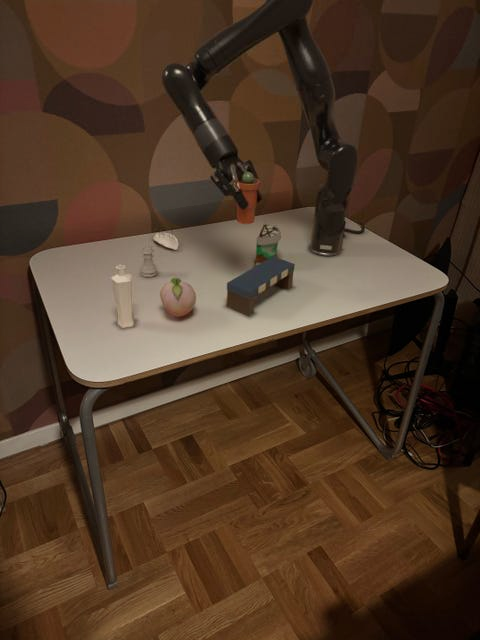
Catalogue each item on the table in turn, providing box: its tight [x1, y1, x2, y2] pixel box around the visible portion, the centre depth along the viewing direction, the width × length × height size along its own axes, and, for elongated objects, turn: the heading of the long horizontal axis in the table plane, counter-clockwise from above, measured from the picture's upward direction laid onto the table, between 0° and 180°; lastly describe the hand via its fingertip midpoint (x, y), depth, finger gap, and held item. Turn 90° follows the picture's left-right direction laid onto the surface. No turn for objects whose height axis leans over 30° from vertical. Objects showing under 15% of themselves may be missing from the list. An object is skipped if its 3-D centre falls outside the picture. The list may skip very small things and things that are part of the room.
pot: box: [235, 172, 261, 225], centre depth 121 cm, size 6×6×12 cm
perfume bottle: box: [110, 264, 135, 329], centre depth 115 cm, size 5×4×15 cm
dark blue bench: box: [226, 256, 296, 317], centre depth 130 cm, size 20×7×7 cm, turn 142°
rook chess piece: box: [140, 245, 158, 278], centre depth 138 cm, size 4×4×8 cm
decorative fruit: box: [159, 277, 197, 317], centre depth 120 cm, size 9×8×10 cm
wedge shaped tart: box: [255, 221, 282, 266], centre depth 147 cm, size 12×6×10 cm, turn 168°
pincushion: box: [152, 225, 180, 251], centre depth 155 cm, size 12×6×6 cm, turn 38°
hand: (252, 204), depth 121 cm, fingers closed on pot, 5 cm apart
